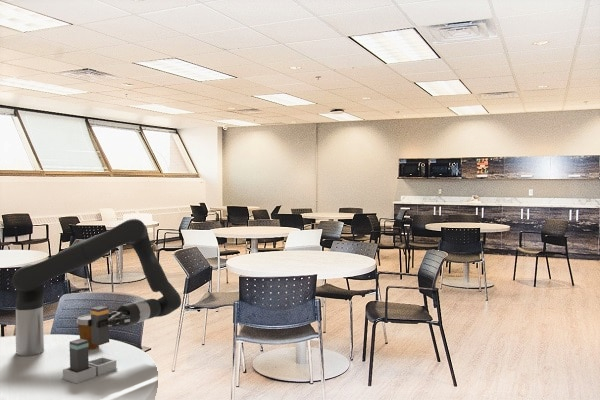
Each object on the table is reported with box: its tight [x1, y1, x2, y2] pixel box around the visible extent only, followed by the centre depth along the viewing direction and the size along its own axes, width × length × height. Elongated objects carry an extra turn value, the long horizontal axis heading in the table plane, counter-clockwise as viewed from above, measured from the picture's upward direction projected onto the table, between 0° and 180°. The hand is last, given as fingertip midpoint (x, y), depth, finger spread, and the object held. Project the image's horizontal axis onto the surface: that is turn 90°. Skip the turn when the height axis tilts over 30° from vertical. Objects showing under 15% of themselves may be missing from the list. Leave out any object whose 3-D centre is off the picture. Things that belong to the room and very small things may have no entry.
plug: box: [90, 305, 110, 346], centre depth 179 cm, size 4×4×12 cm
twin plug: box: [68, 338, 90, 373], centre depth 173 cm, size 4×4×12 cm
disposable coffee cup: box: [76, 313, 100, 351], centre depth 208 cm, size 10×10×12 cm
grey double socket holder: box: [61, 356, 118, 385], centre depth 177 cm, size 8×16×4 cm, turn 147°
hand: (92, 324), depth 177 cm, fingers closed on plug, 4 cm apart
